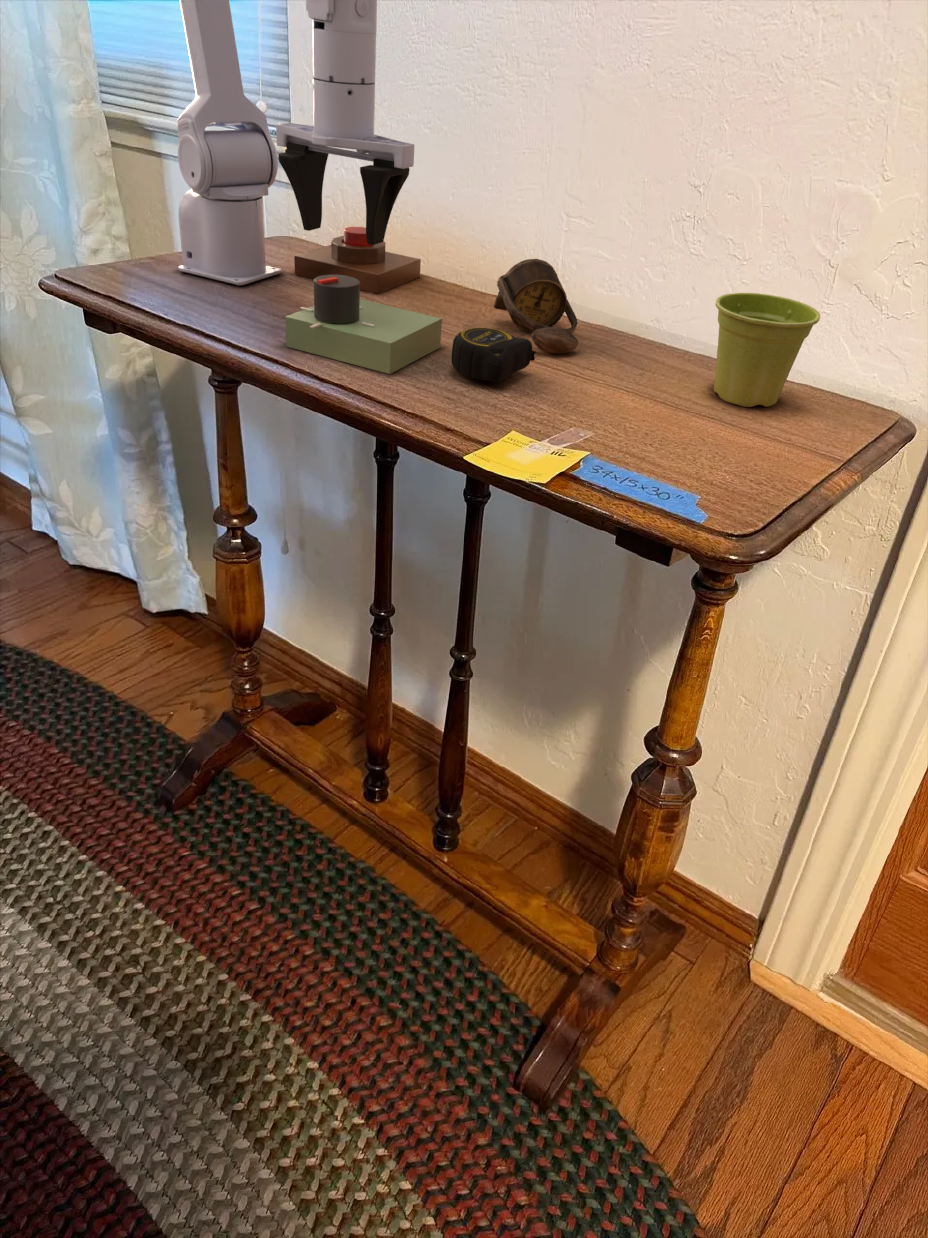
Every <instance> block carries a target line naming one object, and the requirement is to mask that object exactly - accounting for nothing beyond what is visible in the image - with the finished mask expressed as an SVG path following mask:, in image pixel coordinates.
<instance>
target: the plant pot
mask: <svg viewBox="0 0 928 1238" xmlns="http://www.w3.org/2000/svg"><path fill="white" fill-rule="evenodd" d="M715 299H716V300H715V307H716V309H717V310H718V312H717V313H718V314H717V323H718V337H717V338H718V339H717V351H716V361H715V372H714V384H713V392H714V393H716V394H717V395H718V397H719V398H720V399H721V400H723V401H724V402H727V403H729V404H734V405H737V406H740V407H745V408H751V407H755V406H763V407H766V408H767V407H771V406H773V405H775V404H776V403H778V400H779V398H780V395H781V393H782V391H783V388H784V386H785V385H786V382H787V380H788V376H789V375H790V372H791V371H792V368H793V367H794V363H795V361H796V359H797V357H798V354H799V352H800V350H801V348H802V345H803V343H804V341H805V339H806V338H808V336H809V335H810V333H811V331H812V329H813V326H815V325H816V324H818V323H819V321H820V319H821V313H820V312H819V311H818V310H817V309H816V308H815V307H812V306H811V305H809V304H806V303H805V302H804V303H803V302H801V301H798V300H795V299H791V298H787V297H783V296H780V295H779V296H778V295H773V294H766V293H765V294H764V293H759V292H758V293H756V292H733V293H725V294H722V295H720V296H718V297H717V298H715Z"/></svg>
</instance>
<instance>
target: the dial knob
mask: <svg viewBox="0 0 928 1238" xmlns="http://www.w3.org/2000/svg"><path fill="white" fill-rule="evenodd" d="M360 299H361V290H360V281H359V280H358V279H356V278H353V277H350V276H345V275H322V276H318V277H316V278H315V279H313V306H314V316H315V318H316V319H317V320H319V321H322V322H326V323H332V324H348V323H353V322H356V321H358V320H359V314H360Z"/></svg>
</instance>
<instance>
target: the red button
mask: <svg viewBox="0 0 928 1238" xmlns="http://www.w3.org/2000/svg"><path fill="white" fill-rule="evenodd" d="M343 236H344V244H347V245H352V246H372V245H371V244H367V238H366V226H365V227H364V226H348V227H344V228H343Z"/></svg>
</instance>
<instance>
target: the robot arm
mask: <svg viewBox="0 0 928 1238" xmlns="http://www.w3.org/2000/svg"><path fill="white" fill-rule="evenodd" d="M179 6H180V12H181V17H182V23H183V29H184V33H185V34H184V35H185V39H186V41H185V42H186V45H187V46H186V47H187V51H188V52H187V53H188V56H189V63H190V69H191V74H192V80H193V85H194V91H195V97H194V99H193V100H192V101H191V102H190V104H188V106H187V107H186V108H185V109H184V110H183V111H182V113H181V114H180V115H179V117H178V118H177V120H176V129H177V139H178V140H177V141H178V144H177V145H178V146H177V160H178V166H179V170H180V173H181V175H182V178H183V180H184V181H185V183H186V184H187V186H188V187H189V188H190V189H189V190H187V191H186V192H185V193H184V194H183V195H182V198H181V199H180V203H179V206H178V225H179V228H178V229H179V239H180V250H181V259H182V265H179V266H178V268H177V269H178V271H180V272H183V273H186V274H189V275H190V274H191V275H194V276H199V277H203V278H208V279H211V280H214V281H219V282H224V283H228V284H231V285H236V286H245V285H248V284H251V283H254V282H257V281H261V280H264V279H267V278H270V277H273V276H276V275H279V274H281V273H282V269H281V268H280V267H274V266H270V265H267V264H266V244H265V219H264V218H265V217H264V196H269V188H270V187H272V186H273V184H274V183H275V181H276V178H277V176H278V175H277V174H278V170H279V164H280V166H281V168H282V169H283V171H284V173H285V175H286V177H287V180H288V182H289V185H290V186H291V188H292V191H293V194H294V197H295V200H296V203H297V207H298V211H299V215H300V219H301V223H302V227H303V230H304V231H308V232H309V231H314V230H317V229H321V226H322V220H323V187H324V179H325V173H326V168H327V167H326V166H327V162H328V158H329V155H334V156H339V157H340V156H341V157H345V158H350V159H357V160H362V161H366V162H371V163H372V164H368V165H363V166H360V167H359V173H360V177H361V182H362V186H363V192H364V199H365V201H364V202H365V228H366V238H367V244H371V245H375V244H378V243H381V242H383V241H384V242H385V237H386V232H387V228H388V224H389V220H390V218H391V215H392V211H393V208H394V206H395V203H396V200H397V198H398V196H399V194H400V192H401V190H402V188H403V187H404V184H405V182H406V181H407V179H408V178H409V176H410V168H412V167H414V165H415V164H414V163H415V143H409V142H405V141H401V140H396V139H392V138H390V137H386V136H382V135H378V134H375V111H376V110H375V105H376V103H375V102H376V68H377V67H376V62H377V61H376V60H377V27H378V26H377V24H378V23H377V22H378V21H377V20H378V19H377V18H378V0H305V11H307V16H308V18H309V19H311V21H312V25H311V26H312V100H313V101H312V103H313V104H312V105H313V109H312V110H313V111H312V112H313V113H312V114H313V115H312V116H313V119H312V120H313V125H310V124H301V123H294V122H282V123H276V124H275V130H276V132H275V134H276V136H275V137H276V145H275V142H274V141H273V139H272V135H271V132H270V128H269V125H268V119H267V115H266V114H265V112H263V111H262V110H261V109H260V108H259V107H258V106H257V105H256V104H254V103H253V102H252V101H251V100H250V98H248V97H247V96H246V95H245V93H244V86H243V79H242V74H241V67H240V60H239V55H238V48H237V41H236V36H235V30H234V29H235V28H234V23H233V17H232V11H231V3H230V0H179ZM213 127H216V128H218V127H232V128H234V129H206V128H213ZM235 128H236V129H235ZM276 146H277V147H281V148H285V150H284V152H280V153H278V151H277V148H276ZM347 149H348V150H347Z"/></svg>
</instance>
